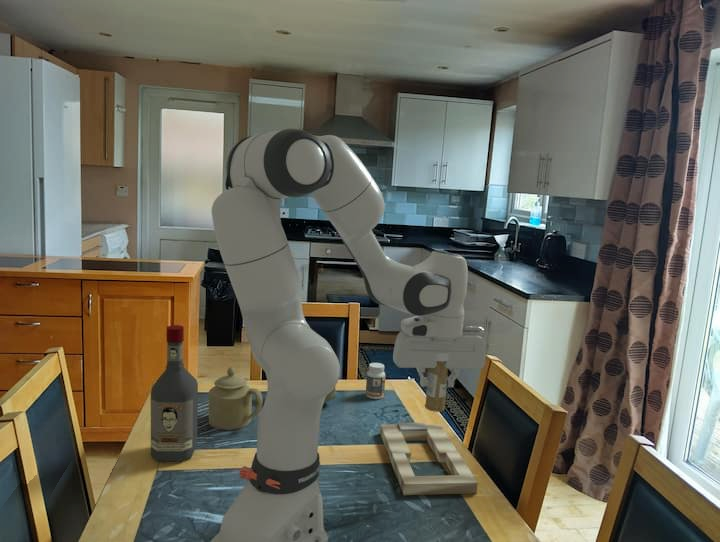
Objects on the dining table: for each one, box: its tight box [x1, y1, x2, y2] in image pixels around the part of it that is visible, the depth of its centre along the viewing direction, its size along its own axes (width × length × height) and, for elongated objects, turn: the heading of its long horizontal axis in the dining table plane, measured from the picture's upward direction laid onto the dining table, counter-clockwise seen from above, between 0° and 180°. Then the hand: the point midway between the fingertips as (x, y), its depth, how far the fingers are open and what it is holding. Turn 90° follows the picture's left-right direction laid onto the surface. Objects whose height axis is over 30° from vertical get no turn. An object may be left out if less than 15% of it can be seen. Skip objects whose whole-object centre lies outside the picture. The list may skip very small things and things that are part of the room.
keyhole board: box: [379, 422, 478, 496], centre depth 128 cm, size 28×16×3 cm, turn 8°
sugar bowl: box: [208, 366, 264, 431], centre depth 141 cm, size 15×11×15 cm
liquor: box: [150, 324, 199, 464], centre depth 122 cm, size 9×9×30 cm
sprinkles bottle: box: [424, 353, 449, 413], centre depth 119 cm, size 5×5×13 cm
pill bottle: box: [365, 362, 386, 400], centre depth 165 cm, size 6×6×10 cm
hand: (436, 386), depth 119 cm, fingers closed on sprinkles bottle, 4 cm apart
